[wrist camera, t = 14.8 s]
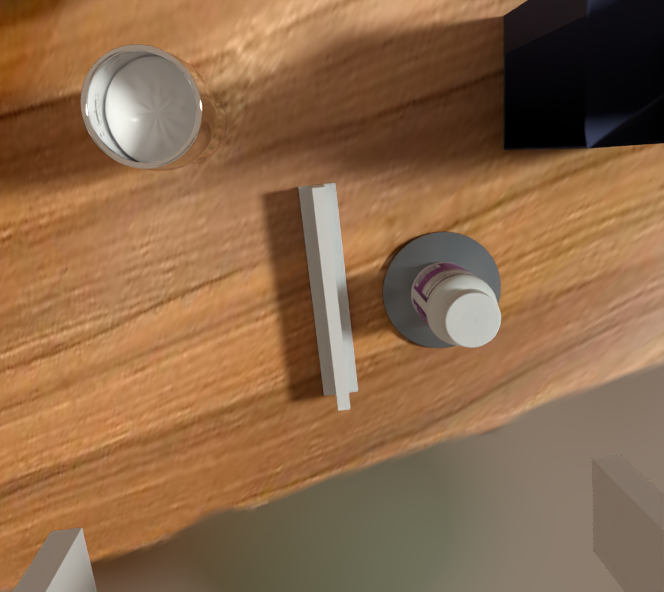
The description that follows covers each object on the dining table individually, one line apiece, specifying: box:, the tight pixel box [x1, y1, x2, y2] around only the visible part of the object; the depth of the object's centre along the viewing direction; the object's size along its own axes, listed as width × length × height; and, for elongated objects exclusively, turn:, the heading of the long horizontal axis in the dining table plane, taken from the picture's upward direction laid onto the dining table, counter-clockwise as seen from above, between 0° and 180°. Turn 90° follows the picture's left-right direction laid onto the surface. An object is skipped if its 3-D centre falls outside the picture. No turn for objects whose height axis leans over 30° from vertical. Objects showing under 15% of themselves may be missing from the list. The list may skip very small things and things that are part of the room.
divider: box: [298, 183, 358, 411], centre depth 50 cm, size 3×18×4 cm, turn 7°
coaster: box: [383, 231, 501, 348], centre depth 52 cm, size 10×10×1 cm
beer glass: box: [81, 44, 226, 171], centre depth 41 cm, size 7×7×15 cm
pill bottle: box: [411, 262, 501, 348], centre depth 47 cm, size 5×5×10 cm
